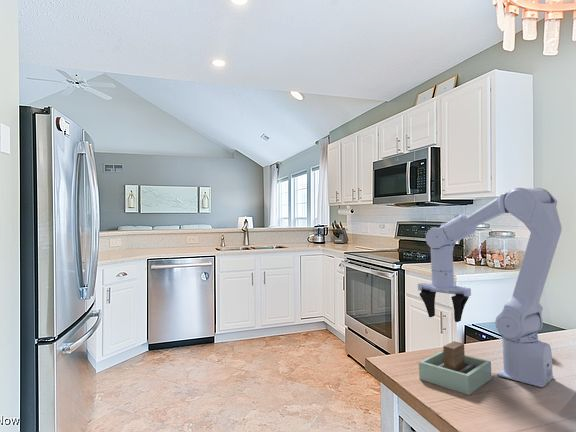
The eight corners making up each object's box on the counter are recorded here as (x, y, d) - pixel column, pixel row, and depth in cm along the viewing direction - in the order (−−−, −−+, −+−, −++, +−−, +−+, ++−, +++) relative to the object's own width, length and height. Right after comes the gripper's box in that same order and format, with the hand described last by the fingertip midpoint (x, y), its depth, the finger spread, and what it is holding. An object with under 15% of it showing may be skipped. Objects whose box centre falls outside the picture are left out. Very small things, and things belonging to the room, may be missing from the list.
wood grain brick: (465, 377, 90) (464, 343, 90) (455, 383, 87) (453, 348, 87) (455, 374, 92) (453, 341, 92) (444, 380, 89) (443, 346, 89)
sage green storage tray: (491, 378, 89) (490, 361, 89) (468, 394, 81) (468, 376, 81) (443, 365, 98) (443, 349, 98) (419, 379, 90) (418, 362, 90)
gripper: (411, 269, 110) (413, 317, 110) (461, 274, 99) (463, 326, 99) (424, 267, 115) (426, 312, 114) (473, 270, 103) (475, 321, 103)
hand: (444, 318), depth 107 cm, fingers open, 7 cm apart
